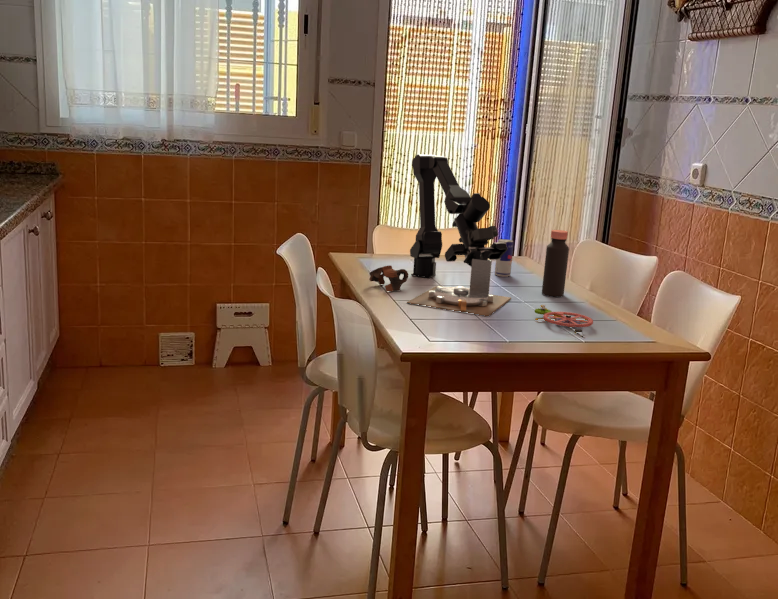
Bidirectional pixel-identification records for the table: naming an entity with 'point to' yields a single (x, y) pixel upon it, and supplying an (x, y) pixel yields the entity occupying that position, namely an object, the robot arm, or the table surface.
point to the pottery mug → (391, 274)
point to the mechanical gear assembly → (564, 318)
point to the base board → (456, 308)
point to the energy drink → (505, 260)
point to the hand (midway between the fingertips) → (485, 276)
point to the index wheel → (472, 295)
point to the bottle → (555, 264)
